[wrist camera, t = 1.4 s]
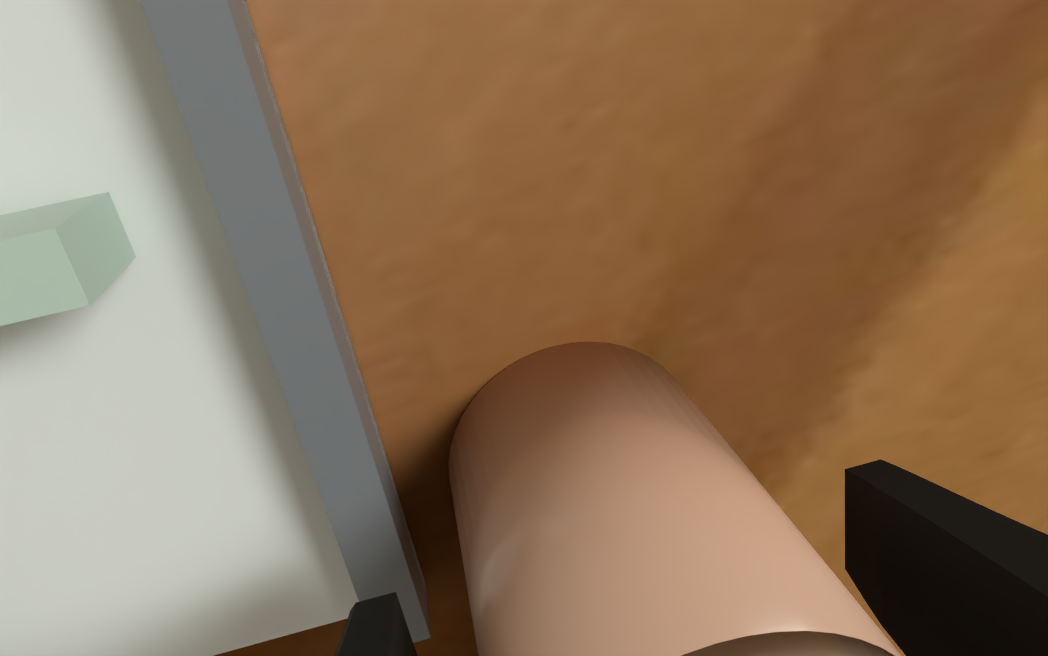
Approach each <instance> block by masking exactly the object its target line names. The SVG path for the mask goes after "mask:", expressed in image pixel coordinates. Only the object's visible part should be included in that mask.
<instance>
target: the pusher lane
mask: <svg viewBox="0 0 1048 656" xmlns="http://www.w3.org/2000/svg"><path fill="white" fill-rule="evenodd" d="M105 192H109V193H110V196H111V198H112V201H113V203H114V205H115V208H116V210H117V212H118V215H119V217H120V220H121V222H122V224H123V227H124V229H125V231H126V234H127V236H128V239H129V241H130V243H131V246H132V248H133V250H134V253H135V255H136V258H135V259H134V260H133V261H132V262H131V263H130V264H129V265H128V266H127V268H126V269H125V270H124V271H123V272H122V273H121V274H120V275H119V276H118V277H117V278H116V279H115V280H114V281H113V282H112V283H111V284H110V285H109V286H108V287H107V288H106V289H105V290H104V291H103V293H102V294H101V295H100V296H99V297H98V298H97V299H96V300H95V301H94V302H93V303H92V304H91V305H89V306H85V307H81V308H76V309H72V310H68V311H63V312H59V313H55V314H50V315H46V316H42V317H37V318H33V319H29V320H24V321H20V322H16V323H11V324H7V325H3V326H0V656H214V655H217V654H221V653H225V652H228V651H232V650H235V649H239V648H243V647H246V646H250V645H253V644H257V643H261V642H264V641H268V640H271V639H275V638H279V637H282V636H286V635H289V634H293V633H297V632H300V631H304V630H308V629H311V628H315V627H318V626H322V625H326V624H329V623H333V622H336V621H340V620H344V619H347V618H348V616H349V613H350V610H351V609H352V607H353V606H354V604H355V603H356V602H360V601H364V600H367V599H371V598H375V597H378V596H382V595H386V594H389V593H393V592H396V594H397V597H398V600H399V603H400V606H401V609H402V612H403V615H404V618H405V620H406V623H407V626H408V629H409V632H410V635H411V638H412V641H413V643H415V642H419V641H422V640H426V639H429V638H431V637H430V626H429V615H428V604H427V593H426V582H425V579H424V576H423V573H422V570H421V566H420V563H419V560H418V557H417V553H416V550H415V547H414V544H413V541H412V537H411V534H410V531H409V528H408V524H407V521H406V518H405V515H404V512H403V508H402V505H401V502H400V499H399V495H398V492H397V489H396V486H395V483H394V479H393V476H392V473H391V470H390V466H389V463H388V460H387V457H386V454H385V450H384V447H383V444H382V441H381V437H380V434H379V431H378V428H377V425H376V421H375V418H374V415H373V412H372V408H371V405H370V402H369V399H368V396H367V392H366V389H365V386H364V383H363V379H362V376H361V373H360V370H359V367H358V363H357V360H356V357H355V354H354V350H353V347H352V344H351V341H350V338H349V334H348V331H347V328H346V325H345V322H344V318H343V315H342V312H341V309H340V305H339V302H338V299H337V296H336V293H335V289H334V286H333V283H332V280H331V276H330V273H329V270H328V267H327V264H326V260H325V257H324V254H323V251H322V247H321V244H320V241H319V238H318V235H317V231H316V228H315V225H314V222H313V218H312V215H311V212H310V209H309V206H308V202H307V199H306V196H305V193H304V189H303V186H302V183H301V180H300V177H299V173H298V170H297V167H296V164H295V160H294V157H293V154H292V151H291V148H290V144H289V141H288V138H287V135H286V131H285V128H284V125H283V122H282V119H281V115H280V112H279V109H278V106H277V102H276V99H275V96H274V93H273V90H272V86H271V83H270V80H269V77H268V73H267V70H266V67H265V64H264V61H263V57H262V54H261V51H260V48H259V45H258V41H257V38H256V35H255V32H254V28H253V25H252V22H251V19H250V16H249V12H248V9H247V6H246V3H245V0H0V215H4V214H8V213H13V212H17V211H22V210H27V209H31V208H36V207H41V206H45V205H50V204H54V203H59V202H64V201H68V200H73V199H77V198H82V197H87V196H91V195H96V194H100V193H105Z"/></svg>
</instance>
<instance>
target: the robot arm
mask: <svg viewBox="0 0 1048 656" xmlns="http://www.w3.org/2000/svg"><path fill="white" fill-rule="evenodd" d="M845 569H846V571H847V572H848V574H849V575H850V577H851V579H852V580H853V582H854V583H855V585H856V587H857V588H858V590H859V591H860V593H861V595H862V596H863V598H864V599H865V601H866V603H867V604H868V606H869V607H870V609H871V610H872V612H873V613H874V615H875V616H876V618H877V619H878V621H879V622H880V624H881V625H882V626H883V628H884V629H885V630H886V631H887V633H888V634H889V635H890V636H891V638H892V639H893V640H894V641H895V643H896V644H897V645H898V646H899V647H900V649H901V650H902V651H903V652H904V654H905V655H906V656H1048V535H1047V534H1045V533H1042V532H1040V531H1037V530H1035V529H1033V528H1031V527H1028V526H1026V525H1024V524H1021V523H1019V522H1017V521H1015V520H1012V519H1010V518H1008V517H1006V516H1004V515H1001V514H999V513H997V512H995V511H992V510H990V509H988V508H986V507H984V506H982V505H979V504H977V503H975V502H973V501H971V500H969V499H966V498H964V497H962V496H960V495H958V494H956V493H954V492H951V491H949V490H947V489H945V488H943V487H941V486H939V485H937V484H934V483H932V482H930V481H928V480H926V479H924V478H921V477H919V476H917V475H915V474H913V473H911V472H908V471H906V470H904V469H902V468H900V467H897V466H895V465H893V464H890V463H888V462H886V461H883V460H877V461H874V462H870V463H866V464H863V465H859V466H855V467H852V468H848V469H845ZM335 656H417V653H416V650H415V647H414V644H413V641H412V638H411V635H410V632H409V629H408V626H407V623H406V620H405V618H404V615H403V612H402V609H401V606H400V603H399V600H398V597H397V594H396V592H393V593H389V594H386V595H382V596H378V597H375V598H371V599H367V600H364V601H360V602H356V603H355V604H354V606H353V607H352V609H351V610H350V613H349V616H348V619H347V622H346V626H345V629H344V632H343V635H342V637H341V640H340V643H339V646H338V649H337V652H336V655H335Z"/></svg>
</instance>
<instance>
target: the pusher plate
mask: <svg viewBox="0 0 1048 656" xmlns="http://www.w3.org/2000/svg"><path fill="white" fill-rule="evenodd" d="M135 258H136V255H135V253H134V250H133V248H132V246H131V243H130V241H129V239H128V236H127V234H126V231H125V229H124V227H123V224H122V222H121V220H120V217H119V215H118V212H117V210H116V208H115V205H114V203H113V201H112V198H111V196H110V193H109V192H105V193H100V194H96V195H91V196H87V197H82V198H77V199H73V200H68V201H64V202H59V203H54V204H50V205H45V206H41V207H36V208H31V209H27V210H22V211H17V212H13V213H8V214H4V215H0V326H3V325H7V324H11V323H16V322H20V321H24V320H29V319H33V318H37V317H42V316H46V315H50V314H55V313H59V312H63V311H68V310H72V309H76V308H81V307H85V306H89V305H91V304H92V303H93V302H94V301H95V300H96V299H97V298H98V297H99V296H100V295H101V294H102V293H103V291H104V290H105V289H106V288H107V287H108V286H109V285H110V284H111V283H112V282H113V281H114V280H115V279H116V278H117V277H118V276H119V275H120V274H121V273H122V272H123V271H124V270H125V269H126V268H127V266H128V265H129V264H130V263H131V262H132V261H133V260H134V259H135Z"/></svg>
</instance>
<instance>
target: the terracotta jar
mask: <svg viewBox="0 0 1048 656" xmlns="http://www.w3.org/2000/svg"><path fill="white" fill-rule="evenodd" d="M449 479H450V485H451V491H452V498H453V504H454V510H455V516H456V522H457V528H458V534H459V540H460V547H461V553H462V559H463V565H464V571H465V577H466V583H467V590H468V596H469V602H470V608H471V614H472V620H473V626H474V632H475V639H476V645H477V651H478V656H901V655H900V653H899V652H898V651H897V650H896V649H895V647H894V646H893V645H892V644H891V642H890V641H889V640H888V639H887V638H886V636H885V635H884V634H883V633H882V632H881V630H880V629H879V628H878V627H877V625H876V624H875V623H874V622H873V621H872V619H871V618H870V617H869V616H868V614H867V613H866V612H865V611H864V610H863V608H862V607H861V606H860V605H859V603H858V602H857V601H856V600H855V599H854V597H853V596H852V595H851V594H850V592H849V591H848V590H847V589H846V588H845V586H844V585H843V584H842V583H841V581H840V580H839V579H838V578H837V577H836V575H835V574H834V573H833V572H832V570H831V569H830V568H829V567H828V566H827V564H826V563H825V562H824V561H823V560H822V558H821V557H820V556H819V555H818V553H817V552H816V551H815V550H814V549H813V547H812V546H811V545H810V544H809V542H808V541H807V540H806V539H805V538H804V536H803V535H802V534H801V533H800V531H799V530H798V529H797V528H796V527H795V525H794V524H793V523H792V522H791V520H790V519H789V518H788V517H787V516H786V514H785V513H784V512H783V511H782V509H781V508H780V507H779V506H778V505H777V503H776V502H775V501H774V500H773V498H772V497H771V496H770V495H769V494H768V492H767V491H766V490H765V489H764V488H763V486H762V485H761V484H760V483H759V481H758V480H757V479H756V478H755V477H754V475H753V474H752V473H751V472H750V470H749V469H748V468H747V467H746V466H745V464H744V463H743V462H742V461H741V459H740V458H739V457H738V456H737V455H736V453H735V452H734V451H733V450H732V448H731V447H730V446H729V445H728V444H727V442H726V441H725V440H724V439H723V437H722V436H721V435H720V434H719V433H718V431H717V430H716V429H715V428H714V426H713V425H712V424H711V423H710V422H709V420H708V419H707V418H706V417H705V416H704V414H703V413H702V412H701V411H700V409H699V408H698V407H697V406H696V405H695V403H694V402H693V401H692V400H691V398H690V397H689V396H688V395H687V394H686V392H685V391H684V390H683V389H682V387H681V386H680V385H679V384H678V383H677V381H676V380H675V379H674V378H673V376H672V375H671V374H669V373H668V372H667V371H666V370H665V369H664V368H663V367H662V366H661V365H659V364H658V363H657V362H655V361H654V360H652V359H651V358H649V357H647V356H645V355H643V354H641V353H639V352H637V351H635V350H632V349H629V348H626V347H623V346H619V345H614V344H609V343H601V342H577V343H568V344H563V345H557V346H553V347H550V348H547V349H543V350H540V351H537V352H535V353H533V354H530V355H528V356H526V357H524V358H521V359H520V360H518V361H516V362H515V363H513V364H511V365H510V366H508V367H506V368H505V369H504V370H502V371H501V372H500V373H498V374H497V375H496V376H494V377H493V378H492V379H491V380H490V381H489V382H488V383H487V384H486V385H485V386H484V387H483V388H482V389H481V390H480V391H479V392H478V393H477V394H476V396H475V397H474V398H473V399H472V401H471V402H470V403H469V405H468V406H467V408H466V410H465V411H464V413H463V415H462V416H461V418H460V421H459V423H458V425H457V427H456V430H455V432H454V436H453V439H452V443H451V447H450V454H449Z"/></svg>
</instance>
